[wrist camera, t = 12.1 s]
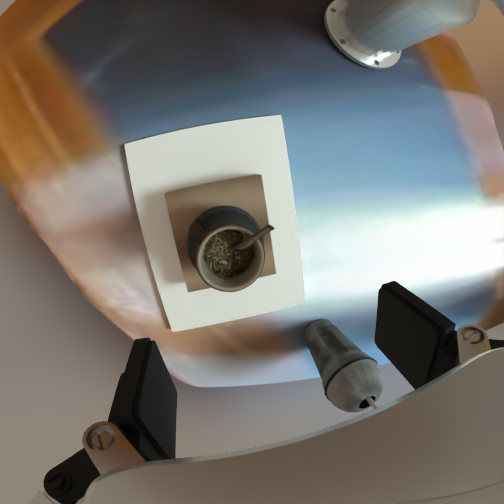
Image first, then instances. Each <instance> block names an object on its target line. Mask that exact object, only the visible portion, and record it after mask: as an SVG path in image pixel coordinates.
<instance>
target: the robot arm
mask: <svg viewBox="0 0 504 504" xmlns="http://www.w3.org/2000/svg"><path fill="white" fill-rule="evenodd" d="M492 2H493V3H494V4H495V5H496V7H497V8H498V9H499V10H500V12H501V13H502V15H503V16H504V0H492ZM479 6H480V0H335V1H333V2H332V3H331V4H330V5H329V6H328V7H327V9H326V11H325V14H324V24H325V27H326V31H327V33H328V35H329V37H330V38H331V40H332V41H333V43H334V44H335V45H336V46H337V48H338V49H339V50H340V51H341V52H342V53H344V54H345V55H346V56H347V57H348V58H350V59H351V60H353V61H354V62H356V63H358V64H360V65H362V66H364V67H367V68H371V69H385V68H388V67H390V66H393V65H394V64H395V63H396V62H397V61H398V60H399V58H400V55H401V50H402V49H405V48H407V47H409V46H411V45H414V44H416V43H419V42H421V41H424V40H426V39H429V38H431V37H434V36H436V35H439V34H442V33H445V32H447V31H450V30H453V29H456V28H458V27H462V26H465V25H467V24H469V23H470V22H472V21H473V20H474V19H475V18H476V16H477V14H478V11H479ZM455 325H456V324H455V323H453V322H452V321H451V320H449V319H448V318H447V317H445V316H444V315H442V314H441V313H440V312H438V311H437V310H436V309H434V308H433V307H431V306H430V305H429V304H427V303H426V302H424V301H423V300H422V299H420V298H419V297H417V296H416V295H414V294H413V293H412V292H410V291H409V290H407V289H406V288H404V287H403V286H401V285H400V284H399V283H397V282H395V281H392V282H389V283H386V284H383V285H382V287H381V289H379V293H378V308H377V320H376V331H375V343H376V345H377V347H378V348H379V349H380V350H381V351H382V352H383V354H384V355H385V356H386V357H387V358H388V359H389V360H390V361H391V363H392V364H393V365H394V366H395V367H396V368H397V369H398V370H399V371H400V373H401V374H402V375H403V376H404V377H405V378H406V380H407V381H408V382H409V383H410V384H411V385H412V386H413V387H414V389H415V390H414V391H412V392H410V393H408V394H406V395H404V396H402V397H400V398H398V399H396V400H394V401H392V402H390V403H387V404H385V405H383V406H381V407H379V408H376V409H374V410H372V411H369V412H367V413H365V414H362V415H360V416H357V417H355V418H352V419H350V420H347V421H344V422H341V423H339V424H336V425H333V426H330V427H327V428H324V429H322V430H318V431H315V432H312V433H308V434H305V435H302V436H298V437H295V438H291V439H287V440H284V441H279V442H275V443H272V444H267V445H262V446H258V447H253V448H248V449H243V450H238V451H231V452H225V453H219V454H212V455H204V456H196V457H187V458H177V459H175V442H176V441H175V440H176V408H177V391H176V388H175V386H174V383H173V381H172V379H171V377H170V375H169V372H168V370H167V368H166V366H165V363H164V361H163V359H162V356H161V354H160V351H159V349H158V347H157V344H156V342H155V341H154V340H153V341H151V340H150V338H142V339H136V340H135V341H134V343H133V346H132V349H131V353H130V356H129V359H128V362H127V365H126V369H125V372H124V373H123V374H121V376H120V379H119V382H118V386H117V389H116V393H115V396H114V400H113V403H112V407H111V411H110V414H109V418H108V422H105V421H102V422H97V423H95V424H93V425H91V426H90V427H89V428H88V429H87V430H86V431H85V432H84V435H83V440H82V442H83V446H84V448H83V449H82V450H80V451H79V452H77V453H76V454H74V455H73V456H71V457H70V458H68V459H67V460H65V461H64V462H62V463H60V464H59V465H57V466H56V467H54V468H53V469H51V470H50V471H49V472H48V473H47V474H46V476H45V479H44V488H45V490H44V492H41V491H39V492H38V493H37V494H36V495H35V496H34V497H33V498H32V500H31V501H30V502H29V503H28V504H504V340H492V339H488V335H487V333H486V331H485V330H484V329H483V328H481V327H479V326H477V325H472V324H468V325H463V326H461V327H460V328H459V329H458V331H455V330H454V329H455Z"/></svg>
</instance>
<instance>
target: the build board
mask: <svg viewBox="0 0 504 504" xmlns="http://www.w3.org/2000/svg"><path fill="white" fill-rule="evenodd" d="M124 145H125V152H126V158H127V163H128V169H129V174H130V179H131V185H132V189H133V194H134V199H135V204H136V208H137V212H138V217H139V221H140V225H141V229H142V233H143V237H144V241H145V245H146V249H147V252H148V256H149V260H150V263H151V267H152V270H153V274H154V277H155V280H156V284H157V287H158V290H159V293H160V296H161V299H162V303H163V306H164V309H165V312H166V315H167V318H168V320H169V323H170V326H171V329H172V332H176V331H181V330H187V329H192V328H197V327H203V326H208V325H213V324H218V323H223V322H227V321H232V320H237V319H241V318H246V317H250V316H255V315H259V314H264V313H268V312H272V311H276V310H280V309H284V308H288V307H292V306H296V305H300V304H304V303H305V294H304V283H303V273H302V263H301V253H300V244H299V235H298V227H297V219H296V211H295V203H294V195H293V188H292V181H291V174H290V167H289V160H288V154H287V147H286V141H285V135H284V129H283V123H282V117H281V115H275V116H265V117H256V118H248V119H241V120H234V121H227V122H221V123H215V124H209V125H203V126H198V127H193V128H188V129H183V130H179V131H174V132H170V133H165V134H161V135H157V136H153V137H149V138H145V139H141V140H138V141H134V142H131V143H127V144H124ZM254 174H260V175H262V181H263V188H264V194H265V201H266V207H267V214H268V220H269V224H270V225H271V226H273V227H274V228H275V229H274V230H272V231H270V234H271V241H272V248H273V255H274V262H275V269H276V274H273V275H269V276H264V277H260V278H257V279H256V281H255V282H254V283H252V284H251V285H250V286H248V287H247V288H245V289H243V290H240V291H236V292H222V291H218V290H215V289H213V288H208V289H203V290H198V291H193V292H188V290H187V287H186V283H185V279H184V276H183V272H182V268H181V264H180V260H179V256H178V252H177V248H176V244H175V240H174V236H173V231H172V227H171V223H170V218H169V214H168V209H167V204H166V200H165V195H164V194H165V193H166V192H168V191H172V190H176V189H181V188H185V187H190V186H195V185H199V184H204V183H209V182H214V181H220V180H225V179H230V178H236V177H242V176H248V175H254Z"/></svg>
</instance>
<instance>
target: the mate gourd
mask: <svg viewBox="0 0 504 504" xmlns="http://www.w3.org/2000/svg"><path fill="white" fill-rule="evenodd" d="M274 229H275V228H274V227H273V226H271V225H270V224H267V225H266V226H265V227H264V228H262V229H260V226H259V224H258V223H257V222H256V220H255V219H254V218H253V217H252V216H251V215H250V214H249V213H248V212H246V211H245V210H242V209H241V208H238V207H235V206H225V205H224V206H216V207H213V208H210V209H208V210H207V211H205V212H203V213H202V214H200V215H199V216H198V217H197V218H195V220H194V222H193V223H192V224H191V225H190V227H189V232H188V236H187V247H186V249H187V252H188V256H189V258H190V260H191V263H192V264H193V266H194V267H195V268H196V269H197V272H198V274H199V276H200V277H201V279H202V280H203V281H204V282H205V283H206V284H207V285H208V286H210V287H211V288H213V289H215V290H218V291H222V292H236V291H240V290H243V289H245V288H247V287H248V286H250V285H251V284H252V283H254V282H255V281H256V279H257V278H258V277H259V275H260V274H261V272H262V270H263V267H264V263H265V250H264V236H266V233H269V232H270V231H272V230H274Z"/></svg>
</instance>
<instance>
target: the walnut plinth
mask: <svg viewBox="0 0 504 504" xmlns="http://www.w3.org/2000/svg"><path fill="white" fill-rule="evenodd" d="M164 195H165V200H166V204H167V209H168V214H169V218H170V223H171V227H172V231H173V236H174V240H175V244H176V248H177V252H178V256H179V260H180V264H181V268H182V272H183V276H184V279H185V283H186V287H187V290H188V292H193V291H198V290H203V289H208V288H211V287H210V286H208V285H207V284H206V283H205V282H204V281H203V280H202V279H201V277H200V276H199V274H198V272H197V269H196V268H195V267H194V266H193V264H192V263H191V260H190V258H189V256H188V252H187V249H186V247H187V236H188V232H189V227H190V225H191V224H192V223H193V222H194V220H195V218H197V217H198V216H199V215H200V214H202V213H203V212H205V211H207V210H208V209H210V208H213V207H216V206H224V205H225V206H235V207H238V208H241V209H242V210H245V211H246V212H248V213H249V214H250V215H251V216H252V217H253V218H254V219H255V220H256V222H257V223H258V224H259V226H260V229H262V228H264V227H265V226H266V225H267V224H269V220H268V214H267V207H266V201H265V194H264V188H263V181H262V175H260V174H254V175H248V176H242V177H236V178H230V179H225V180H220V181H214V182H209V183H204V184H199V185H195V186H190V187H185V188H181V189H176V190H172V191H168V192H166V193H165V194H164ZM264 250H265V263H264V267H263V270H262V272H261V274H260V275H259V277H258V278H260V277H264V276H269V275H273V274H276V269H275V262H274V255H273V248H272V241H271V234H270V232H269V233H266V236H264Z"/></svg>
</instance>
